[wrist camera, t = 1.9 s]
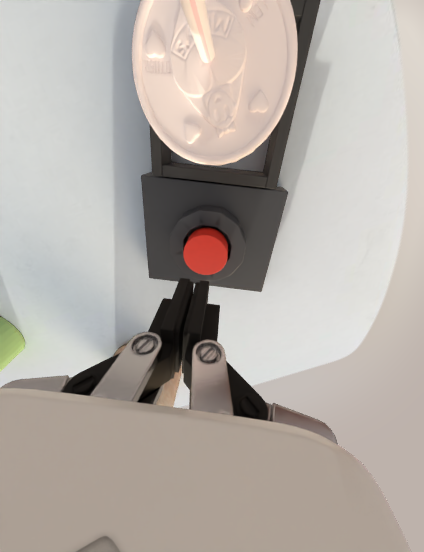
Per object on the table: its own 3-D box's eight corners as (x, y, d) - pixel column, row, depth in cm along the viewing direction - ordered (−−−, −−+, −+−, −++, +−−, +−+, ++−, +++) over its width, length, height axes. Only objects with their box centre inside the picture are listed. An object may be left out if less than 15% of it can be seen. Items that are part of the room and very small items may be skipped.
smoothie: (254, 30, 14) (374, -606, 2) (272, 139, 17) (364, 128, 5) (167, 75, 15) (-44, -148, 4) (198, 168, 19) (139, 210, 7)
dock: (158, 8, 14) (141, -22, 11) (305, 22, 14) (322, -5, 11) (162, 171, 19) (152, 175, 16) (270, 183, 19) (275, 189, 16)
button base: (149, 172, 19) (131, 178, 16) (283, 187, 19) (293, 196, 15) (155, 268, 24) (142, 287, 21) (259, 280, 24) (263, 302, 21)
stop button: (187, 224, 18) (183, 232, 16) (230, 229, 18) (230, 237, 16) (186, 262, 20) (182, 272, 18) (225, 267, 19) (224, 277, 18)
